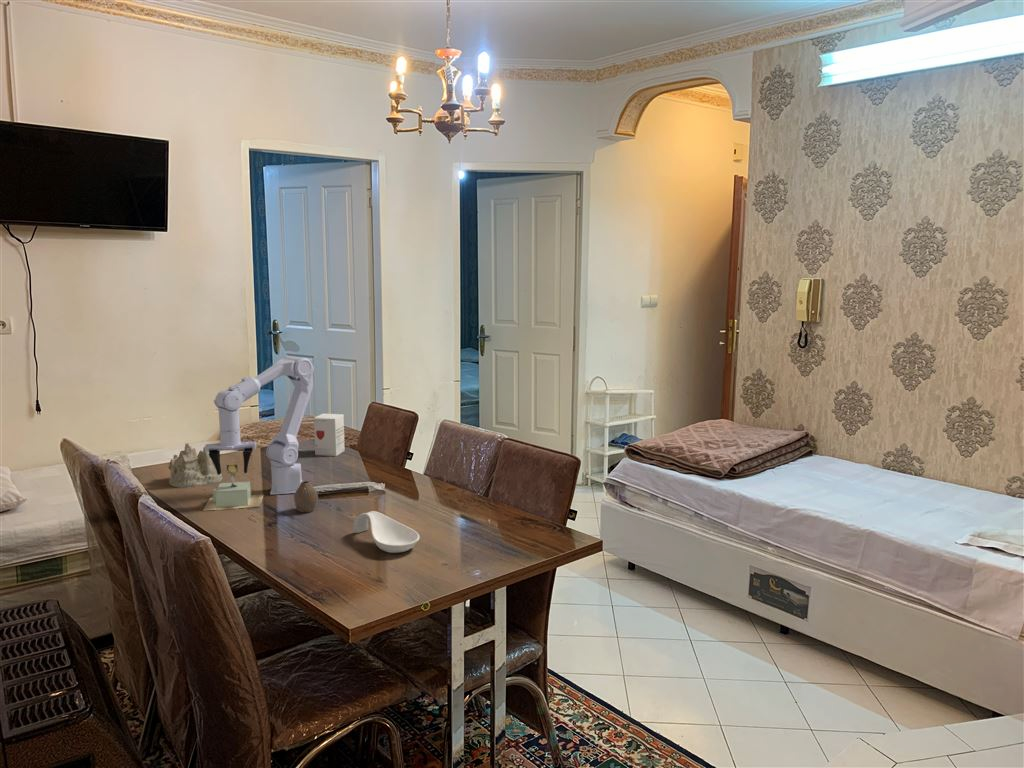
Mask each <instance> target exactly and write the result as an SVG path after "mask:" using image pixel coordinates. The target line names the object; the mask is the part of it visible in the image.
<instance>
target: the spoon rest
mask: <svg viewBox="0 0 1024 768" xmlns="http://www.w3.org/2000/svg"><path fill="white" fill-rule="evenodd" d="M369 524H370V533H371V537H372V540H373V542H374V543H375V545H376V546H377V547H378V548H379V549H380V550H382V551H384V552H385V553H388V554H399V553H404V552H407V551H410V550H411V549H412V548H413V547H415V546H416V544H418V542H419V541H420V539H421V537H420V534H419V532H417V531H416V530H414V529H413V528H411V527H410V526H407V525H405V524H403V523H402V522H399V521H397V520H395V519H393V518H392V517H389V516H387V515H386V514H383V513H381V512H379V511H377V510H371V511H368V512H363V513H360V514H359V515H358V516H357V517H356V518H355V520H354V522H353V526H352V527H353V528H352V533H353V534H359V533H362V532H366V531H368V530H369Z"/></svg>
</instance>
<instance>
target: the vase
mask: <svg viewBox="0 0 1024 768" xmlns="http://www.w3.org/2000/svg"><path fill="white" fill-rule="evenodd" d="M318 502H319V495H318V492H317V490H316V489H315V488H314V486H313V485H312V484H311V482H310V481H309V480H302V482H301V484H300V486H299V487H298V489H297V490H296V492H295V493H294V496H293V503H294V506H295V508H296V510H297V511H299V512H300V513H310V512H312V511H315V509H316V507H317V505H318Z"/></svg>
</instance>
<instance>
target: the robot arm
mask: <svg viewBox="0 0 1024 768" xmlns="http://www.w3.org/2000/svg"><path fill="white" fill-rule="evenodd" d="M314 371H315V366H314V364H313V363H312V361H311V360H310V359H309V358H307V357H300V356H299V357H297V356H293V355H287V356H284V357H283V358H281V359H278V361H277V362H276V363H275V364H274V363H273V365H271V366H269V367H268V368H266V369H265V370H263V372H261V373H259V374H258V375H256V376H255V377H251V376H248V377H242V378H241V381H239V382H238V383H236V384H234V385H230V386H228V389H222V390H220V391H219V392H217V394H216V395H215V399H213V403H214V405H215V406H216V408H217V409H218V419H219V436H220V439H219V440H220V442H216V443H209V444H205V445H204V447H205V452H209V456H210V458H211V459H212V461H213V463H214V465H215V467H216V470H217V474H218V475H220V474H222V467H221V452H222V451H238V450H239V451H241V450H242V457H243V473H244V474H247V473H248V468H249V467H248V466H249V462H250V459H251V457H252V456H251V455H252V453H253V451H254V450H257V441H241V427H240V425H241V424H240V411H239V410H240V408H241V407H242V405H243V403H244V402H246V401H247V400H249V399H251V398H252V397H254V396H256V395H257V394H259V393H260V392H261V387H263V386H265V385H267V384H269V383H270V382H272V381H274V380H276V379H278V378H280V377H282V376H284V377H285V376H286V377H287V378H288V379H289V380H290V381H291V383H292V385H293V387H294V388H293V391H292V394H291V398H290V400H289V402H288V403H289V404H288V406H287V409H286V412H285V416H284V418H283V422H282V424H281V427H280V429H279V432H278V433H277V434H276V435H275V436H274V437H273V438H272V440H271V443H270V444H268V446H267V448H266V451H265V452H266V453H265V454H266V455H265V456H266V457H267V459H268V460H269V461H270V470H271V472H270V473H271V490H270V492H269V494H270V495H272V496H273V495H284V494H286V495H287V494H295V492H296V490H297V489H298V487H299V486H300V484H301V482H303V477H302V464H301V463H297V460H298V457H299V446H300V444H299V442H298V438H297V435H298V433H299V430H300V427H301V424H302V420H303V418H304V416H305V415H304V414H305V413H306V408H307V406H308V403H309V401H310V397H311V394H312V391H313V388H314V378H313V377H314Z"/></svg>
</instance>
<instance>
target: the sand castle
mask: <svg viewBox="0 0 1024 768" xmlns="http://www.w3.org/2000/svg"><path fill="white" fill-rule="evenodd" d="M168 469H169V472H170V477H169V479H168V485H169V486H172V487H175V488H179V489H189V488H188V487H193V488H196V487H195V486H199V487H201V486H200V485H204V484H209V483H214V482H219V481H221V480H222V479H223V475H222V473H221V474H220V475H218V474H217V470H216V467H215V465H214V463H213V461H212V459H211V458H210V456H209V452H205V446H203V447H202V450H199V452H198V453H197V449H196V448H195V447H193V448H192V446H191V445H190V443H189V442H188V443H187V442H186V443H185V445H184V450H180V451H179V455H178V454H176V453H175V454H173V458H170V462H169V466H168ZM223 480H224V479H223ZM221 482H222V481H221ZM219 483H220V482H219Z"/></svg>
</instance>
